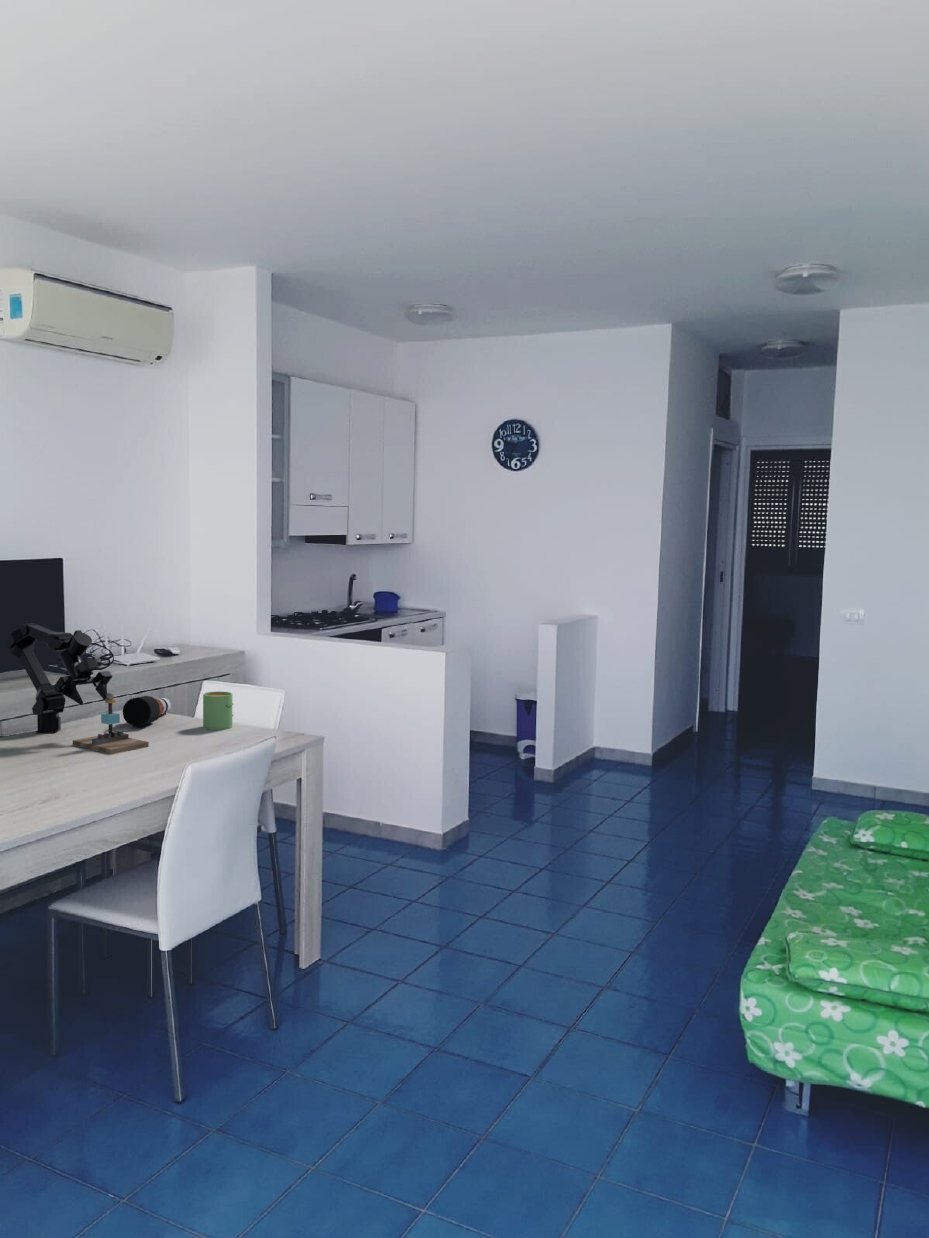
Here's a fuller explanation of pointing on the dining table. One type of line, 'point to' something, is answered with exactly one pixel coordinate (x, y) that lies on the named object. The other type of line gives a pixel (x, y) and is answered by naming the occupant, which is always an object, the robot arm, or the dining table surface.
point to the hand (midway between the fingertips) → (94, 702)
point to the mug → (217, 710)
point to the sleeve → (110, 718)
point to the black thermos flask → (144, 710)
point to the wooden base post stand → (111, 738)
